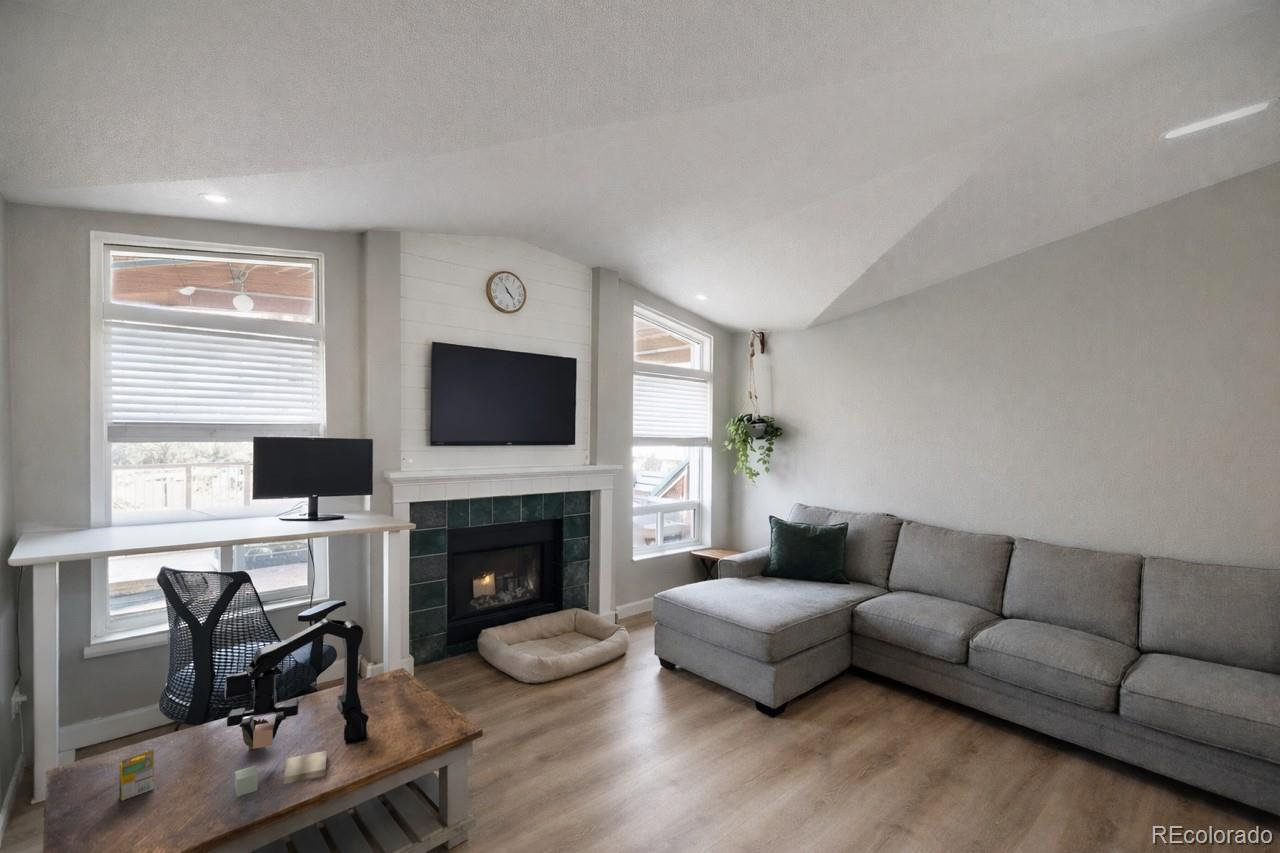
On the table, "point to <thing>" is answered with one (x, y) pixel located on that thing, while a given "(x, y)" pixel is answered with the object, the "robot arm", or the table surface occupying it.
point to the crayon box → (136, 775)
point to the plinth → (305, 767)
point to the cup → (247, 738)
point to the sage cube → (246, 780)
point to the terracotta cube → (263, 735)
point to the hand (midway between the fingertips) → (263, 739)
